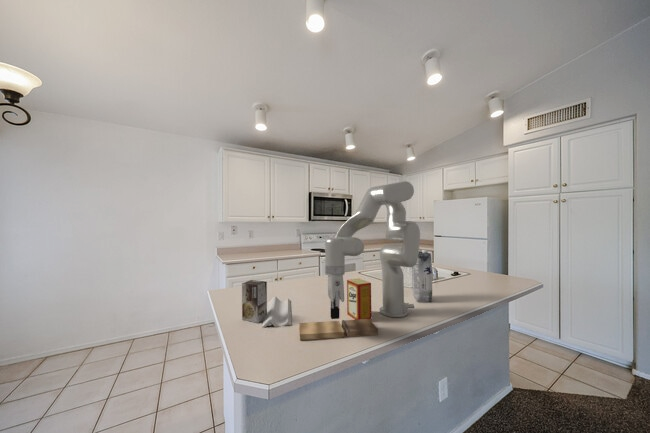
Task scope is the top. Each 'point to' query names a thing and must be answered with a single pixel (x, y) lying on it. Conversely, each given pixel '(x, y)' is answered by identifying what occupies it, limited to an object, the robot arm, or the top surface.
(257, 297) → the coffee box
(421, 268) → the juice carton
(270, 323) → the crown molding
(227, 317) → the top surface
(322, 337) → the oak plank
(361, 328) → the walnut board
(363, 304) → the baking soda box
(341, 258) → the robot arm
